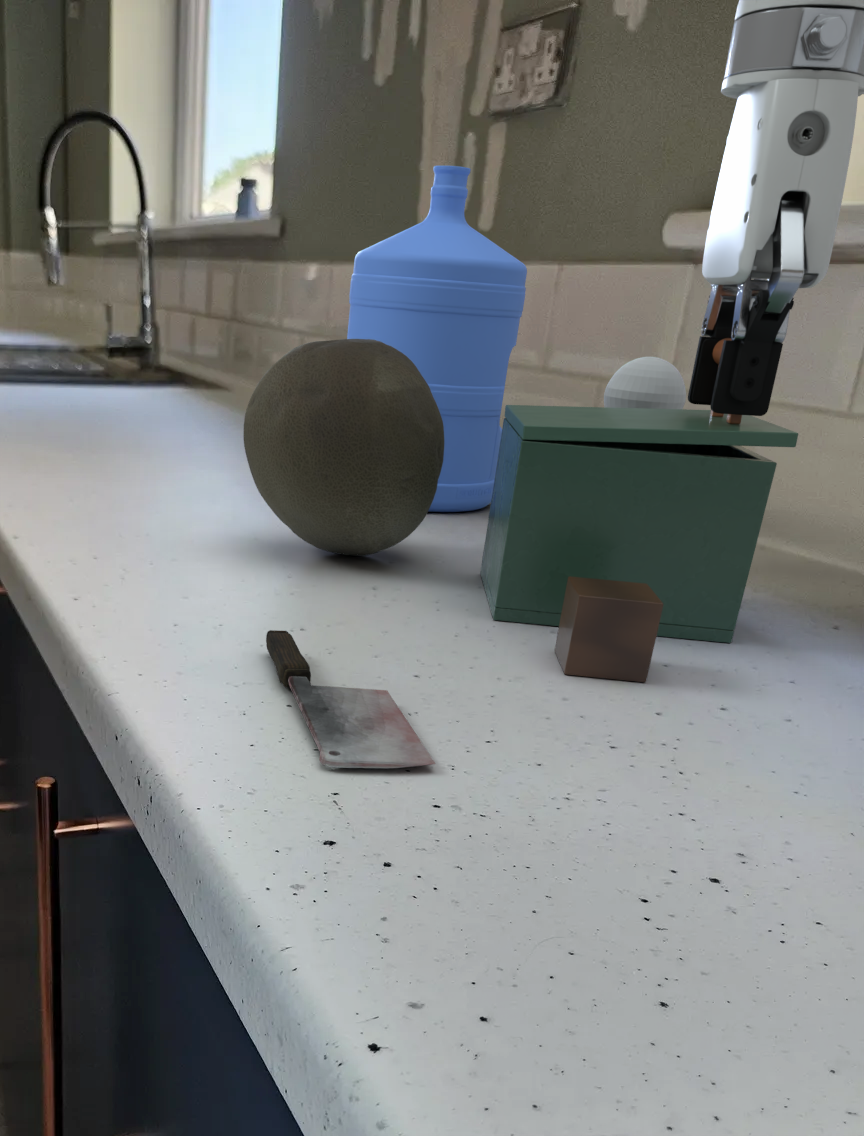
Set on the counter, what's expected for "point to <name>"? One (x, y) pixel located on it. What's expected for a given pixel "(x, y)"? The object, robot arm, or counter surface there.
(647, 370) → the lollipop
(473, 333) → the water jug
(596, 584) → the tea block
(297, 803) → the counter surface
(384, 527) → the cantaloupe
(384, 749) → the cleaver
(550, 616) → the green box
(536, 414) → the lid
